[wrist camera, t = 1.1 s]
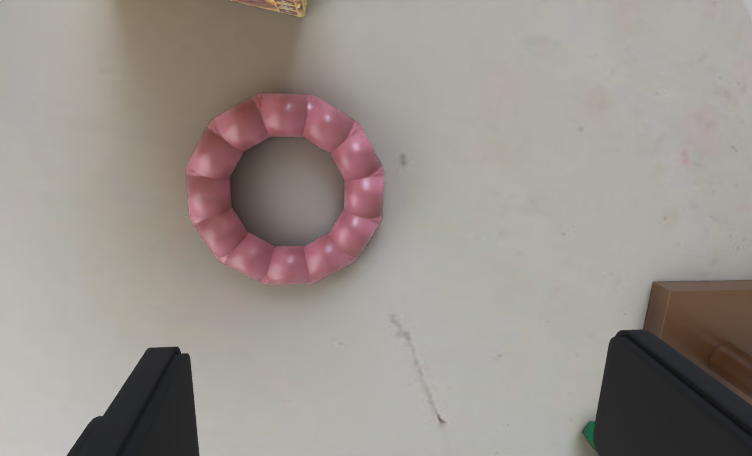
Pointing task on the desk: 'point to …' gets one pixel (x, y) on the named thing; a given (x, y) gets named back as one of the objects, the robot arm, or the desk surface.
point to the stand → (707, 327)
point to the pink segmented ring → (284, 119)
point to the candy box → (279, 5)
